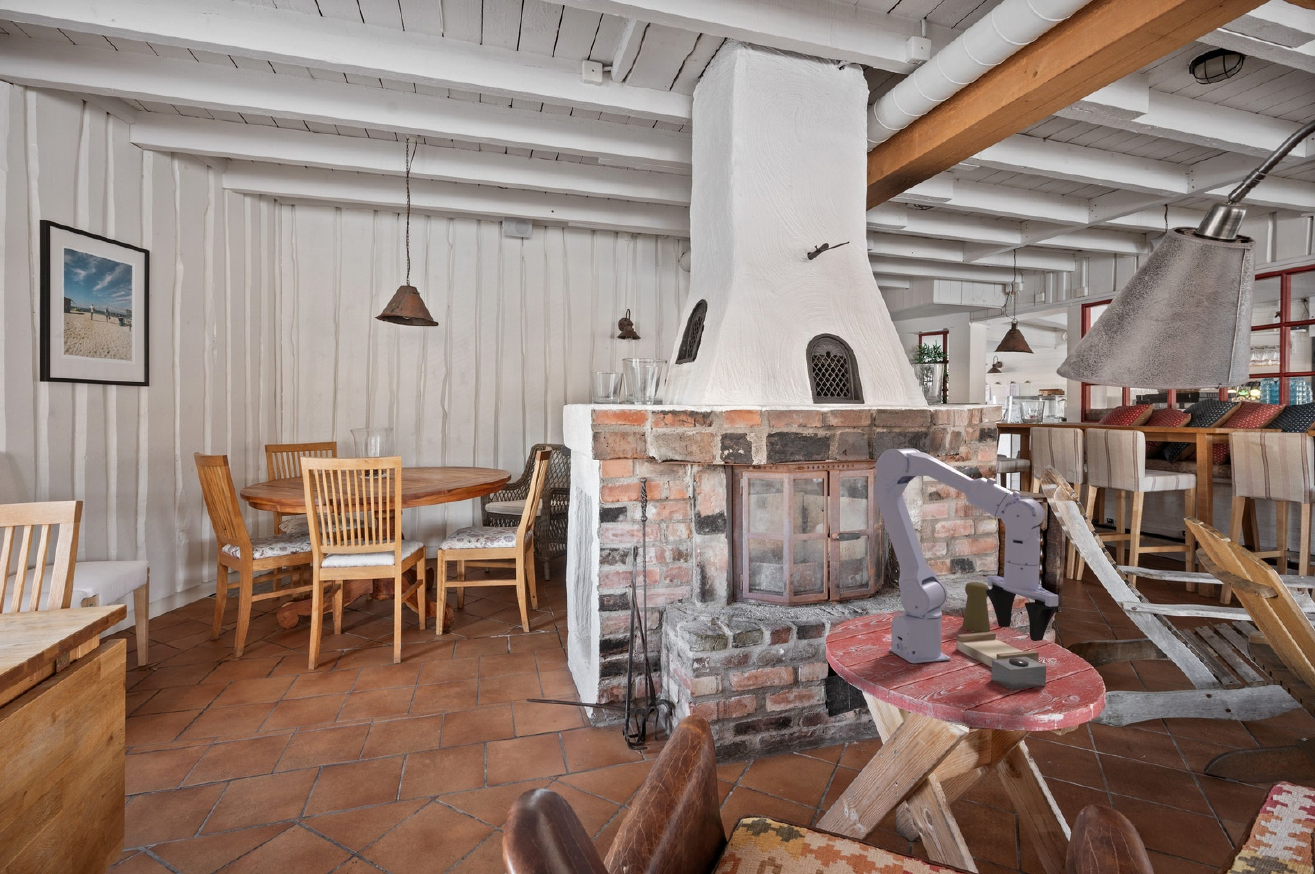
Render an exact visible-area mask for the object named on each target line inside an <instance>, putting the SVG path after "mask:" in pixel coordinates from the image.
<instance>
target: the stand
mask: <svg viewBox="0 0 1315 874" xmlns="http://www.w3.org/2000/svg"><path fill="white" fill-rule="evenodd" d="M996 637H997V633H995V632H994V631H990V632H984V633H979V632H973V633H963V634H962V633H961V634H956V650H957V651H958V652H961V653H963V654H964V655H967V656H969V657H971V658H972V659H974V660H976V661H977V662H980V663H982V664H985V665H986V666H988V667H990V668H992V660H999V659H1008V658H1018V657H1028V658H1030V659H1032V660H1035V661H1037V662H1039V657H1040V655H1039V654H1040V653H1039V652H1038V651H1036V650H1034V649H1033V650H1025V651H1023V650H1021V649H1018V648H1017V647H1014V646H1012V645H1009V644H1007V643H1005V642H1003V641H1001V640H998V639H997V638H996Z"/></svg>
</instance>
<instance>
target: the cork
mask: <svg viewBox="0 0 1315 874" xmlns="http://www.w3.org/2000/svg"><path fill="white" fill-rule="evenodd" d="M989 587H990V586H988V584H986V583H983V582H979V581H968V582H966V584H965V586H964V591H965V594H966V596H967V598H966V602H965V610H964V614H963V621H962V626H961V627H962V629H964V630H966V631H970V632H973V633H984V632H991V625H990V616H989V608H988V599H987V598H989V597H988V595H987V594H986V590H987V589H990V588H989Z"/></svg>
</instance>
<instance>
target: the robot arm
mask: <svg viewBox="0 0 1315 874" xmlns="http://www.w3.org/2000/svg"><path fill="white" fill-rule="evenodd" d="M874 467H875V470H876V475H875V480H874V481H875V483H874V490H873V492H874V496H875V499H876V501H877V504H878V508H879V510H880V513H881V516H882V518H883V519H882V520H883V522H884V525H885V527H886V529H887V534H888V536H889V539H890V542H891V545H892V548H893V551H894V554H895V557H896V560H897V562H898V566H899V568H900V575H899V578H898V585H899V588H900V592H899V594H900V596H899V600H900V604H901V606H902V608H903V609H904V611H903V613H901V614H898V615H895V616H893V618H892V621H891V641H890V642H891V643H890V644H891V645H890V647H889V648H888V650H889V651H890V652H892V653H894V654H895V655H897V656H899V657H901V658H902V659H904V660H905V661H907V662H908V663H911V664H921V663H931V662H941V661H950V660H951V657H950V656H949V655H946V654H945V653H944V652H942V624H943V620H942V619H943V613H942V612H943V611H942V608H941V607H942V606H944V604H945V603H946V601H947V600H948V599H947V597H948V593H947V589H946V586H944V584H943V583H942V582H941V581H940V580H939V578H938V576H937V574H936V572H935V570H933V568H932V567H930V566H929V565H928V564H927V561H926V557H925V554H924V553H923V550H922V547H921V544H920V541H919V537H918V536H917V533H916V530H915V527H914V524H913V522H912V519H911V516H910V513H909V509H908V508H907V505H906V502H905V498H904V496H903V493H904V492H905V490H906V489H907V487H908V485H909V484H910V482H911V481H913V479H915V478H916V477H929V478H931V479H933V480H936V481H937V482H940V483H942V484H944V485H946V486H948V487H951V488H952V489H954V490H957V491H959V492H961V493H963V494H964V496H965V498H966V501H967V502H968V503H969V504H971V505H973V506H974V507H976V508H978V509H980V510H982V511H984V512H986V513H988V514H990V515H991V516H993V517H995V518H997V519H1001V521H1002V522H1001V523H1003V525H1004V526H1005V537H1004V538H1005V539H1004V540H1005V541H1004V568H1003V569H1004V570H1003V576H999V575H988V576H987V586H988V587H991V588H989V589H987V590H986V594H987V595H988V597H987V598H988V599H989V600H990V603H991V605H992V607H993V609H994V613H995V617H996V621H997V625H998V627H999V628H1009V627H1010V626H1011V624H1012V611H1013V605H1014V603H1015V599H1016V596H1021V597H1023V598H1026V599H1030V600H1032V601H1030V602H1028V601H1027V602H1024V606H1025V609H1026V611H1027V616H1028V623H1029V637H1030V641H1032V642H1039V641H1044V637H1045V633H1046V631H1047V628H1048V625H1049V624H1050V622H1051V620H1052V618H1053V617H1054V615H1055V614H1056V613H1057V612H1058V610H1059V595H1058V594H1055V593H1053V592H1051V591H1049V590H1046V589H1045V588H1043V587H1042V584H1040V561H1041V560H1040V559H1041V554H1040V553H1041V539H1040V536H1041V535H1040V533H1041V526H1039V525H1041V523H1042V522H1043V521H1044V520H1045V509H1044V507H1043V506H1042V504H1041V503H1039V502H1038V501H1037V500H1035V499H1034V497H1029V496H1023V497H1021V495H1022V493H1020V492H1019V491H1016V490H1015V491H1011V490H1009V489H1008V488H1005V487H1003V486H1002V485H999V484H998V483H997V482H998V481H997V479H994V478H993V477H989V478H985V477H980V478H976V479H973V478H972V477H970V476H968V475H966V474H964V473H963V472H961V471H959V470H957V469H955V468H954V467H951V466H950V465H948V464H946V463H944V462H943V461H941V460H939V459H938V458H935V457H934V456H932V455H930V454H928V453H926V452H923V451H919V450H918V449H916V448H913V447H905V448H898V449H897V448H890V449H886V450H884V451H883V452H882V453H881V454H880V456H879V457H878V459H877V461H876V462H875V463H874Z"/></svg>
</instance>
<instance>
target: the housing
mask: <svg viewBox="0 0 1315 874" xmlns="http://www.w3.org/2000/svg"><path fill="white" fill-rule="evenodd" d="M990 679H991V681H993V682H995V683H997V684H999V685H1000V686H1003V687H1004V688H1005V689H1007V690H1010V691H1015V690H1021V689H1030V688H1037V687H1038V688H1039V687H1046V683H1047V682H1046V681H1047V665H1045V664H1043V663H1041V662H1039V661H1038V662H1037V661H1035V660H1032V659H1030V658H1028V657H1018V658H1008V659H999V660H992V667H991V678H990Z"/></svg>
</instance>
